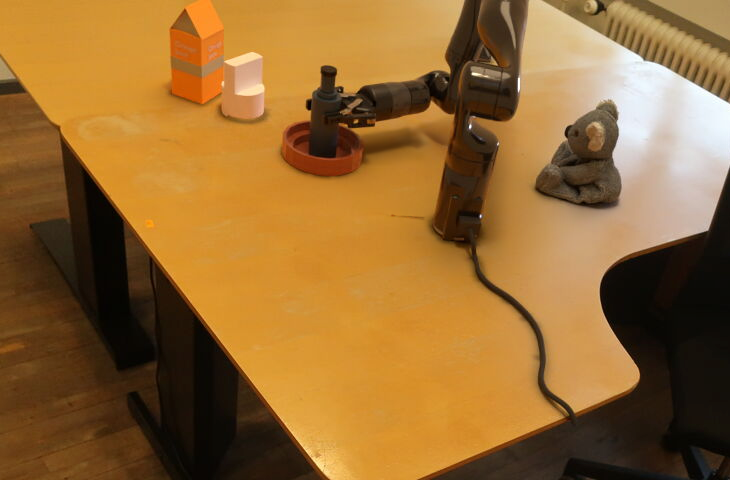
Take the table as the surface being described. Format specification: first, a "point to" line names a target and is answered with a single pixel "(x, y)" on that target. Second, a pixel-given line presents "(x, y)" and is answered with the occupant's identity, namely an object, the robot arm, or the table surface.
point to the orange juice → (197, 53)
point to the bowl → (299, 158)
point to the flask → (322, 102)
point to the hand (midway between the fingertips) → (315, 112)
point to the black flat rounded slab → (484, 55)
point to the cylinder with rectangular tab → (243, 86)
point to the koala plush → (586, 159)
